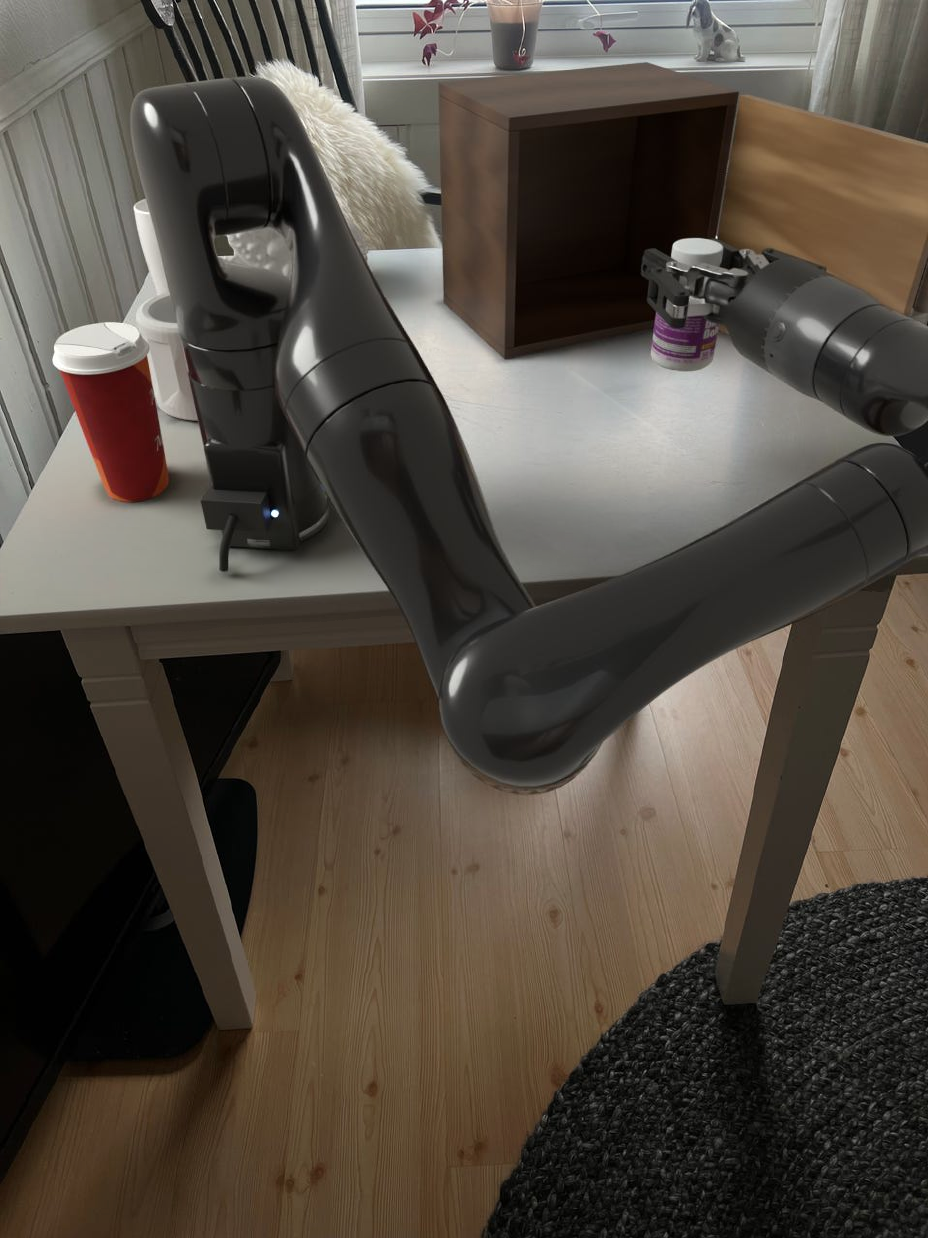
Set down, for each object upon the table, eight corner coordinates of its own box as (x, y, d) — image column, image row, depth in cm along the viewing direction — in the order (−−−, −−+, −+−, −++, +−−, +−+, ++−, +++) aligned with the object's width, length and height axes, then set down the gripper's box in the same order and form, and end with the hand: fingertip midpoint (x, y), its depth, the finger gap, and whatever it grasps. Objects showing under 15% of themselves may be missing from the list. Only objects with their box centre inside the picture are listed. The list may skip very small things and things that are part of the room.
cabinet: (702, 319, 112) (739, 91, 97) (504, 359, 105) (509, 117, 89) (625, 270, 125) (646, 61, 109) (443, 302, 117) (438, 82, 102)
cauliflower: (419, 226, 112) (264, 141, 101) (346, 374, 120) (196, 309, 109) (381, 191, 126) (243, 113, 116) (319, 325, 134) (184, 263, 124)
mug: (282, 396, 98) (268, 303, 92) (196, 434, 92) (175, 336, 86) (207, 359, 105) (189, 270, 99) (122, 392, 99) (98, 299, 93)
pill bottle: (712, 375, 78) (733, 258, 72) (648, 371, 79) (662, 254, 73) (713, 349, 82) (732, 235, 76) (651, 344, 83) (665, 232, 77)
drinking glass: (192, 354, 106) (164, 217, 97) (150, 341, 109) (118, 206, 99) (233, 333, 111) (210, 199, 101) (191, 321, 114) (165, 190, 104)
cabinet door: (747, 310, 114) (789, 87, 98) (921, 398, 96) (1006, 142, 81) (703, 321, 112) (739, 94, 96) (873, 413, 94) (952, 153, 78)
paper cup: (198, 477, 86) (165, 331, 77) (135, 517, 81) (92, 366, 72) (139, 455, 89) (101, 312, 80) (74, 492, 84) (26, 344, 75)
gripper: (716, 400, 65) (597, 313, 77) (878, 363, 70) (741, 287, 82) (736, 294, 61) (605, 219, 73) (908, 262, 65) (757, 196, 77)
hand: (678, 255), depth 77 cm, fingers closed on pill bottle, 5 cm apart
